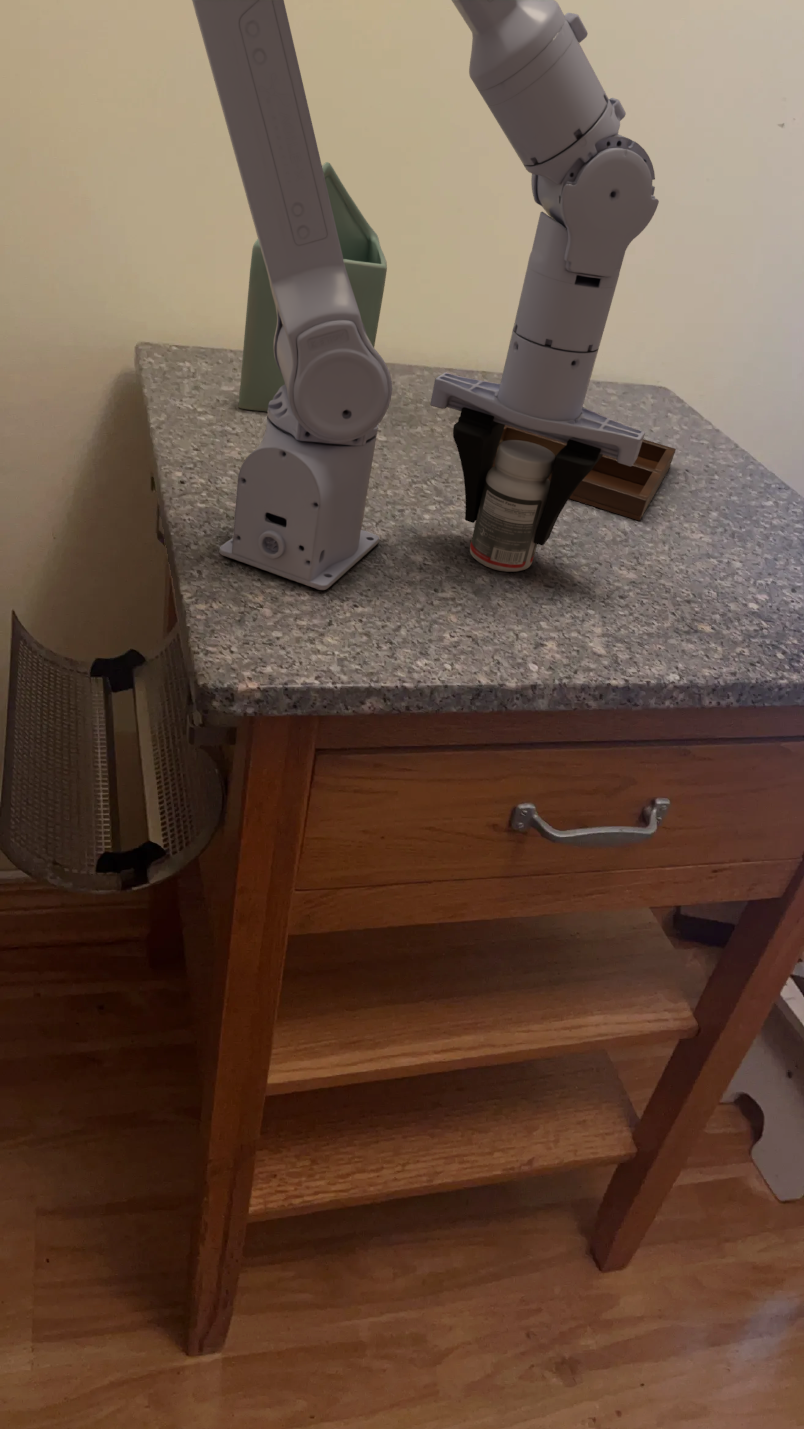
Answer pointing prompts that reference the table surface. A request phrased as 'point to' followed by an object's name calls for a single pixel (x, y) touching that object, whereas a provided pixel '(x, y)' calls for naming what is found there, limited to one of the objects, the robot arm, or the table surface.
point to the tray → (612, 475)
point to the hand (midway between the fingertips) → (507, 528)
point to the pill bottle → (512, 506)
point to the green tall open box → (261, 315)
